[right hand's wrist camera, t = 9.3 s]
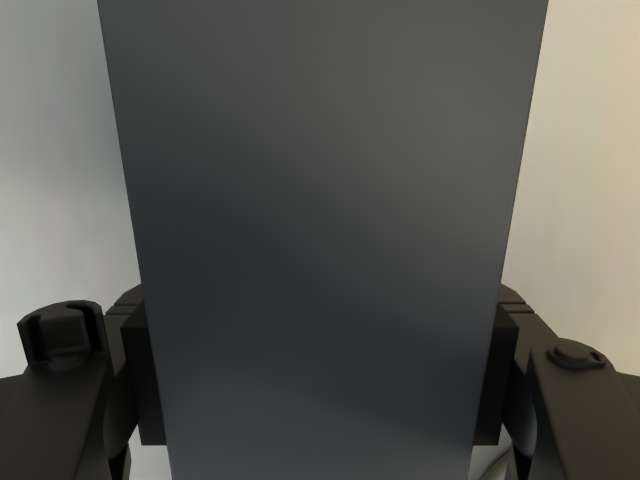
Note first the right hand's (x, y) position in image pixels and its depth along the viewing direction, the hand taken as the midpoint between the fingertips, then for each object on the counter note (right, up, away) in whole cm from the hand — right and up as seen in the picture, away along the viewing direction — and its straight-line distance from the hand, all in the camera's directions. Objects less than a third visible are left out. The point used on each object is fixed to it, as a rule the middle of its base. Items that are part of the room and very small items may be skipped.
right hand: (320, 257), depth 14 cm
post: (0, +24, -8) cm, 25 cm away
